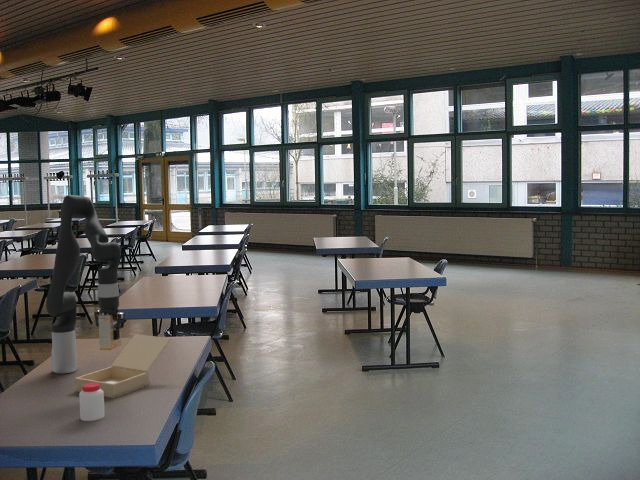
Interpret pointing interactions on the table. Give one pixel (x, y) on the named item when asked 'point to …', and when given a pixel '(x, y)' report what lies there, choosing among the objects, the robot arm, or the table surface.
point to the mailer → (114, 380)
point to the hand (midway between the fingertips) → (110, 338)
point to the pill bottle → (91, 402)
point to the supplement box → (107, 333)
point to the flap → (141, 352)
